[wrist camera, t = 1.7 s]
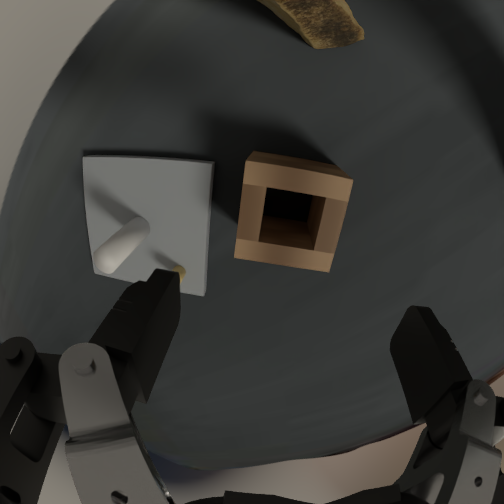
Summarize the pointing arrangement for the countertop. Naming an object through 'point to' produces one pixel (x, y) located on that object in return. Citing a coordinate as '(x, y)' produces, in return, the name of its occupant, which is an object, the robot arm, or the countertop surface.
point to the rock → (319, 21)
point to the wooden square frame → (285, 230)
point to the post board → (149, 217)
